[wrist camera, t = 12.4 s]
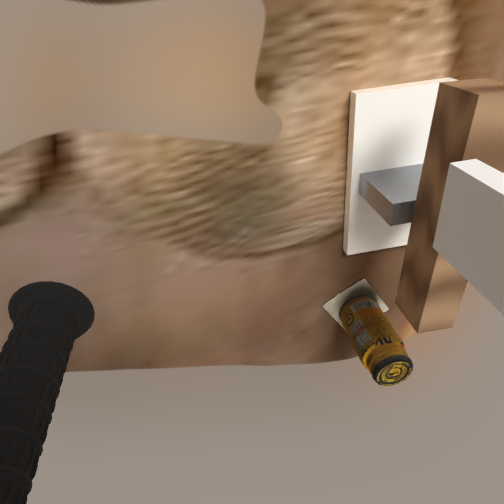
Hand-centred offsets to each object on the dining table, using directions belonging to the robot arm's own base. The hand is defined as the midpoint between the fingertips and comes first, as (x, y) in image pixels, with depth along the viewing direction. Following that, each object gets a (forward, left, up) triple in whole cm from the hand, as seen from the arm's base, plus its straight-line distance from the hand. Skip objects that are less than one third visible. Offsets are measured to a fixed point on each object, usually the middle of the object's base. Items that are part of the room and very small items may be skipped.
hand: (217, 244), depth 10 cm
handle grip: (+26, -22, -32) cm, 47 cm away
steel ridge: (+14, +22, -30) cm, 40 cm away
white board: (+14, +22, -32) cm, 41 cm away
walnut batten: (+14, +22, -22) cm, 34 cm away
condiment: (+35, +19, -32) cm, 51 cm away
